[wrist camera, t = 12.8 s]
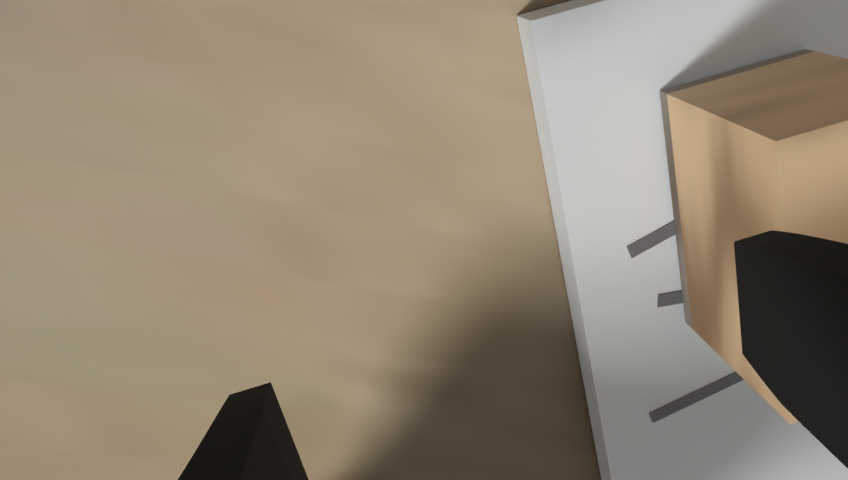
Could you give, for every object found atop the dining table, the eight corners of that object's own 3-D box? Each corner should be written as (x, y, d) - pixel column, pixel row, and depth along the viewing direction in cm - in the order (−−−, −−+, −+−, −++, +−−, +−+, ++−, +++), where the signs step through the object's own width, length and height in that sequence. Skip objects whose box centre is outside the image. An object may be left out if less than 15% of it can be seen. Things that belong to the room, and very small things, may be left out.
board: (874, 447, 27) (900, 470, 26) (611, 534, 27) (625, 561, 26) (880, -86, 20) (915, -86, 19) (516, 15, 19) (531, 20, 18)
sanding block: (812, 282, 23) (947, 373, 18) (685, 322, 22) (790, 424, 18) (805, 48, 20) (963, 86, 15) (659, 90, 20) (776, 141, 15)
